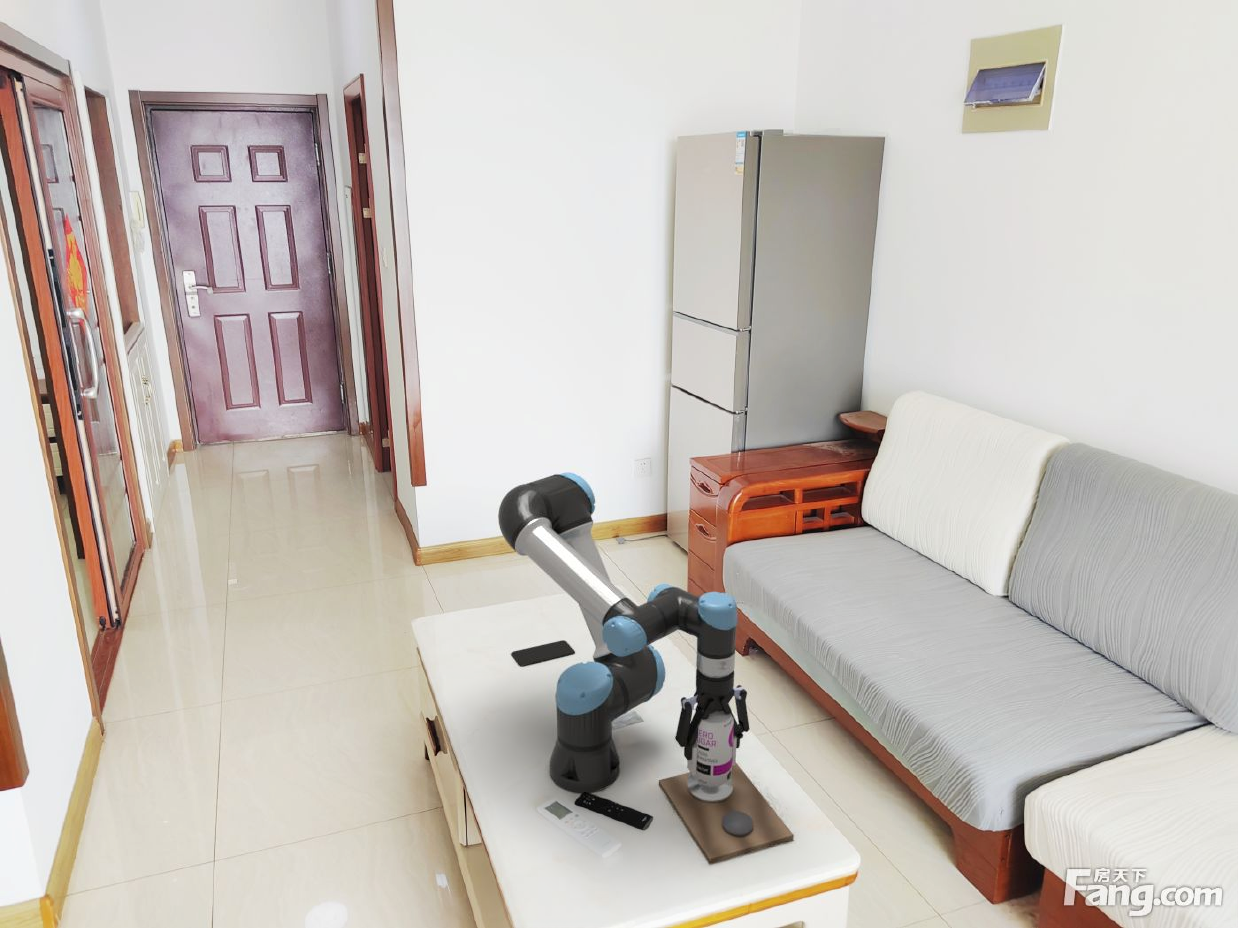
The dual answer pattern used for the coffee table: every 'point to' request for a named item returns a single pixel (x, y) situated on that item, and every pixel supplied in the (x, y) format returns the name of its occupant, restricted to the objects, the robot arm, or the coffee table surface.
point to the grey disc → (737, 823)
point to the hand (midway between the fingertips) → (711, 765)
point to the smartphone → (542, 653)
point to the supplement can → (714, 749)
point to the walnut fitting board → (708, 816)
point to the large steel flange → (709, 791)
